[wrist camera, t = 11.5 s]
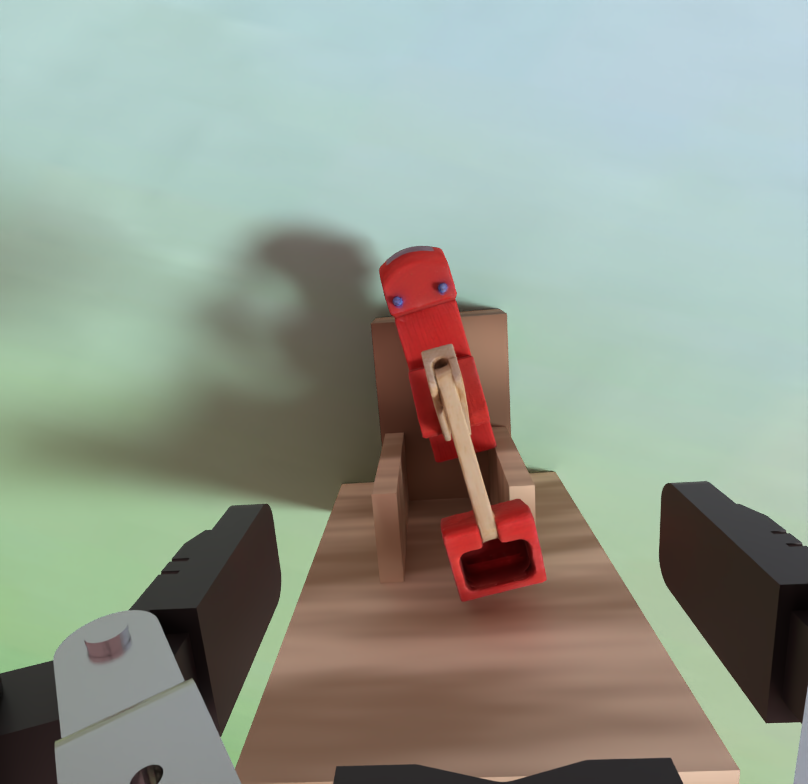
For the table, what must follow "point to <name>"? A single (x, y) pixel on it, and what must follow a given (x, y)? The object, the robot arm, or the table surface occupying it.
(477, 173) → the table surface
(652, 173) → the table surface
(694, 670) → the table surface
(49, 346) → the table surface
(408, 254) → the toy fire truck
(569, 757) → the board
